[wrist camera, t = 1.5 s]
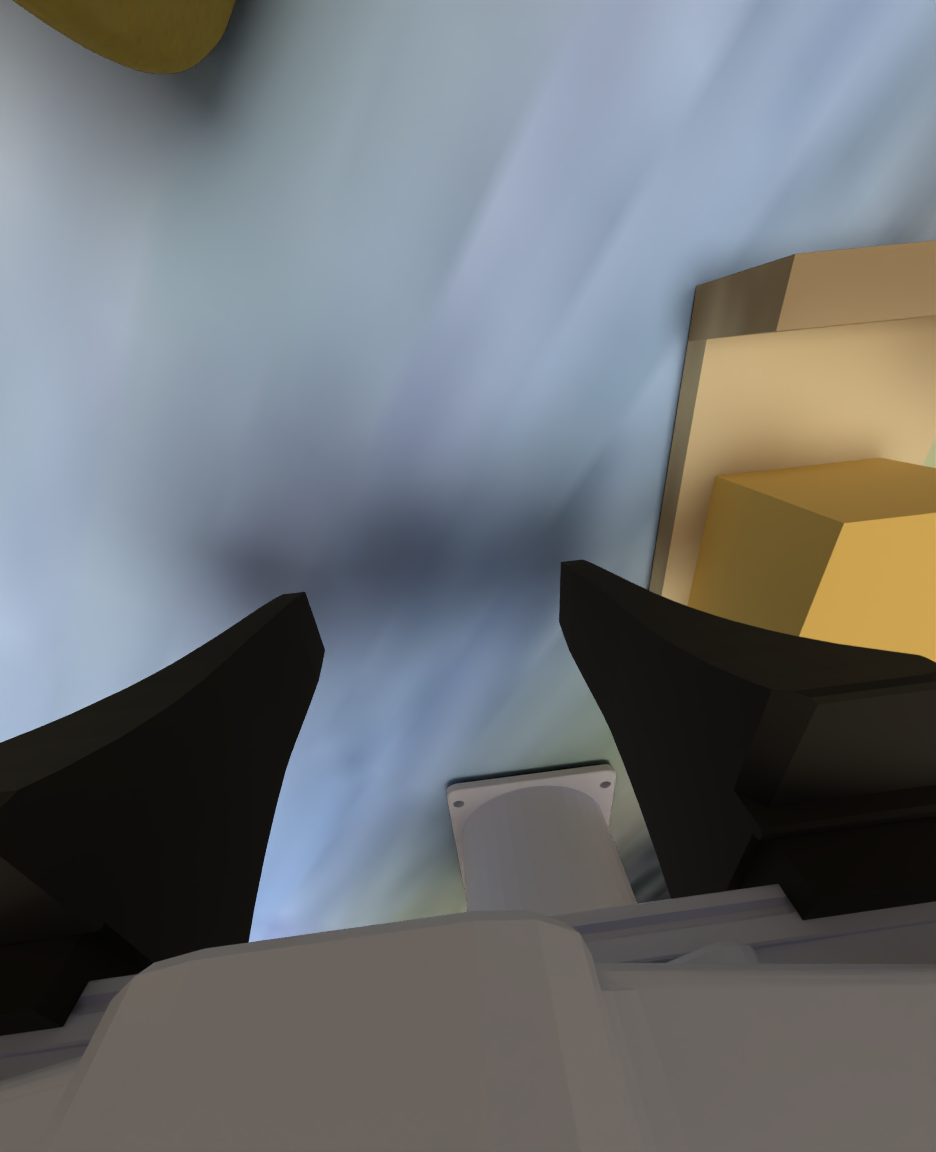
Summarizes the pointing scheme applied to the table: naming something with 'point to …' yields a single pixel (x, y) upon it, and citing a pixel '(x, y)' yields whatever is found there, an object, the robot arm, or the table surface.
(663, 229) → the table surface
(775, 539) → the block
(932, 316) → the channel
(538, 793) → the robot arm
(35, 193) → the table surface
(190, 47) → the flower pot
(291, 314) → the table surface
